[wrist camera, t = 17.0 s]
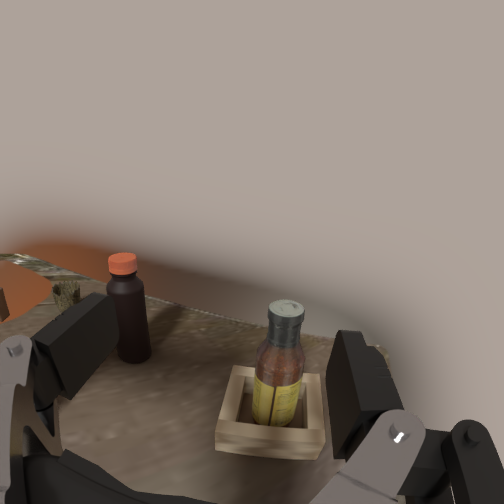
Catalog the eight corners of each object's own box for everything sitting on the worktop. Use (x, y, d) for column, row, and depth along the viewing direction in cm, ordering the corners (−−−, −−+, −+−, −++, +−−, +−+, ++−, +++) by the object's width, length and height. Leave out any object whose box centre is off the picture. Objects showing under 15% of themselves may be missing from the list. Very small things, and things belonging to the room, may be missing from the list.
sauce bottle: (295, 409, 39) (322, 300, 33) (287, 438, 33) (318, 327, 27) (255, 400, 40) (269, 290, 34) (243, 428, 34) (255, 314, 28)
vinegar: (151, 343, 53) (143, 250, 47) (151, 364, 47) (139, 264, 41) (120, 343, 51) (107, 250, 45) (116, 364, 45) (98, 264, 39)
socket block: (215, 449, 31) (214, 431, 30) (232, 385, 44) (233, 364, 43) (316, 459, 30) (325, 442, 28) (312, 394, 43) (319, 374, 42)
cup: (59, 309, 58) (53, 281, 55) (85, 307, 61) (80, 278, 59) (56, 325, 52) (49, 294, 49) (84, 322, 55) (78, 292, 53)
